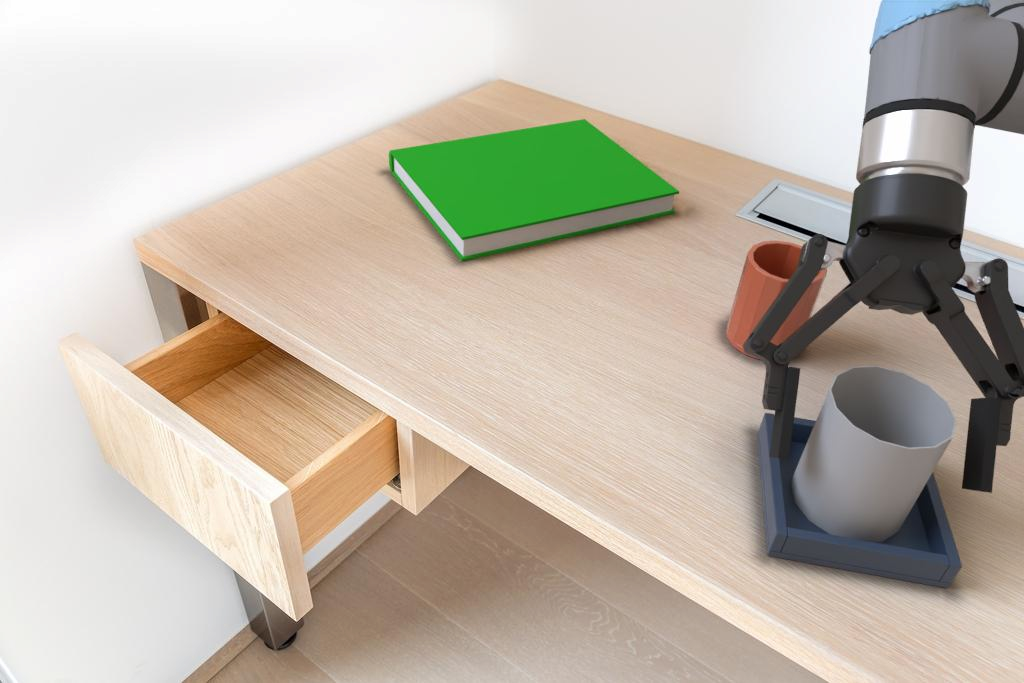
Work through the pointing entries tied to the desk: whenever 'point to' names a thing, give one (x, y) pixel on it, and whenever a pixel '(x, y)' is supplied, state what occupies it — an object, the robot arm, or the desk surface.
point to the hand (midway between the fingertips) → (876, 474)
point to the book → (528, 187)
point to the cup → (871, 452)
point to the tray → (905, 555)
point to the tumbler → (769, 291)
